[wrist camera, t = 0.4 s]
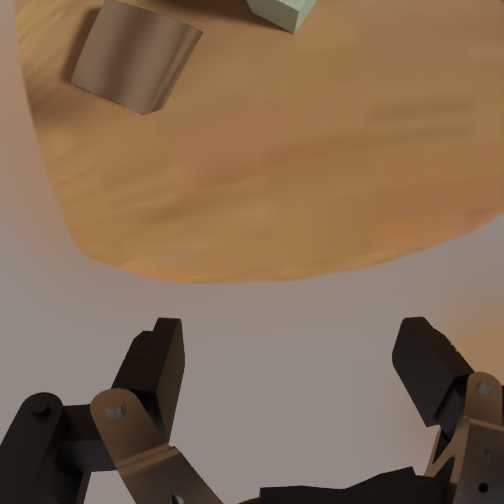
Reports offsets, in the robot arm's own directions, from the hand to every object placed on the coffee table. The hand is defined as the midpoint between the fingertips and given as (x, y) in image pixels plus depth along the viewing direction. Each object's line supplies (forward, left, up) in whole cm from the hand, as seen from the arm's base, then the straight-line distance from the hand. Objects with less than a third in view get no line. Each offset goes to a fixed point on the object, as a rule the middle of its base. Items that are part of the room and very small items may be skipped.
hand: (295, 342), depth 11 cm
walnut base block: (-19, -8, -28) cm, 34 cm away
